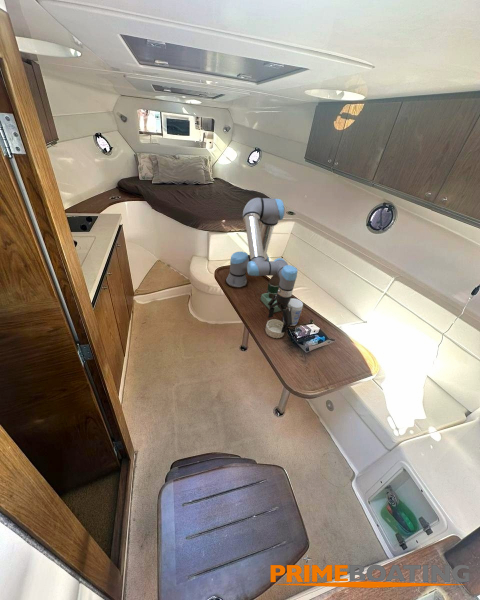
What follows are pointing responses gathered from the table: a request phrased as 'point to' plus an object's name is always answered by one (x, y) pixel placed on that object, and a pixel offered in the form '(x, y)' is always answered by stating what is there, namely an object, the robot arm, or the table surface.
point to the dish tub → (266, 300)
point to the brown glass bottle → (273, 286)
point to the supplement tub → (295, 310)
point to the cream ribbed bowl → (274, 328)
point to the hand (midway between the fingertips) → (276, 324)
